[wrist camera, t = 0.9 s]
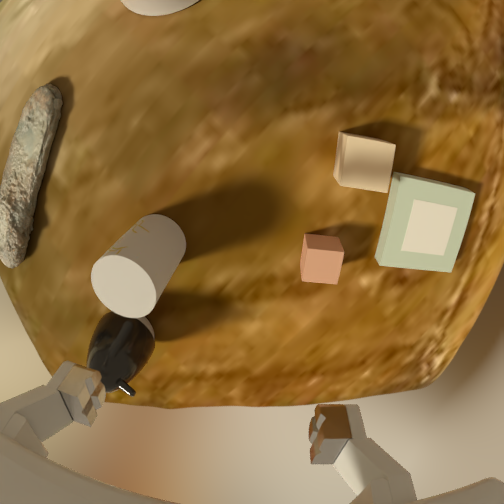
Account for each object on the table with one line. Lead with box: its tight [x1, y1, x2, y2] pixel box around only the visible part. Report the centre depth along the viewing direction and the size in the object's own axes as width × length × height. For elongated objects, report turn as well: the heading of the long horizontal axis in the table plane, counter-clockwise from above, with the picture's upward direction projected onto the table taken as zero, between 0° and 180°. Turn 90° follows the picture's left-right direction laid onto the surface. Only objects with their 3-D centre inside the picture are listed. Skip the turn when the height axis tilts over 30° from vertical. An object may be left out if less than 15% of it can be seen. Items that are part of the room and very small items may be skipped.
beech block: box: [333, 132, 396, 193], centre depth 32 cm, size 6×6×5 cm
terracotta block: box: [300, 233, 344, 284], centre depth 39 cm, size 4×4×4 cm
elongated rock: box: [0, 84, 63, 268], centre depth 38 cm, size 35×5×10 cm
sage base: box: [375, 172, 475, 272], centre depth 36 cm, size 12×12×3 cm
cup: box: [91, 214, 186, 318], centre depth 37 cm, size 8×8×12 cm
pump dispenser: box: [87, 311, 155, 396], centre depth 43 cm, size 10×10×15 cm
